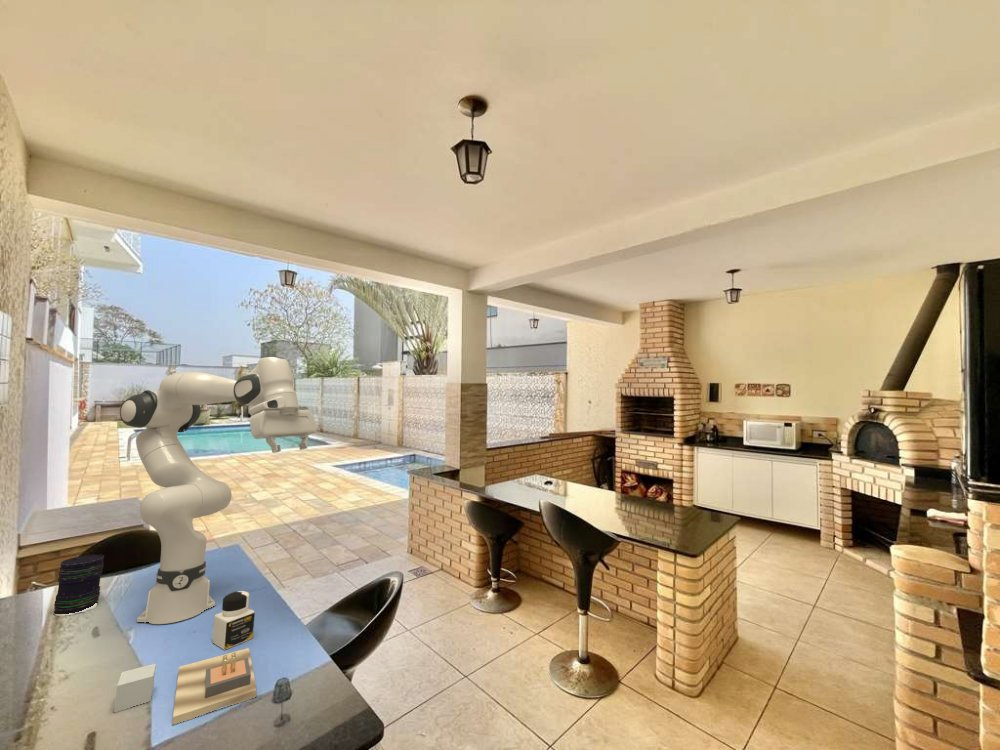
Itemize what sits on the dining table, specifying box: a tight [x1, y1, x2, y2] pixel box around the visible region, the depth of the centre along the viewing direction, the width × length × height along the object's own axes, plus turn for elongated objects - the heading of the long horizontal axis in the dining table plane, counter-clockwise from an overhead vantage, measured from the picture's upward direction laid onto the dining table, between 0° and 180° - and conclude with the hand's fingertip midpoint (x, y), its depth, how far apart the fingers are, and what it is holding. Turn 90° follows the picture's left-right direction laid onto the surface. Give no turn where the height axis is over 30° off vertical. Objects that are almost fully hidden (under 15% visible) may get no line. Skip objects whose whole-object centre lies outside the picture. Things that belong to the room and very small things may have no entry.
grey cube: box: [113, 663, 157, 713], centre depth 85 cm, size 6×6×5 cm
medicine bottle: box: [211, 590, 256, 651], centre depth 109 cm, size 7×7×12 cm
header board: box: [171, 647, 258, 726], centre depth 90 cm, size 20×14×7 cm
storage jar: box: [53, 553, 105, 614], centre depth 126 cm, size 10×10×15 cm
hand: (290, 450), depth 118 cm, fingers open, 8 cm apart
